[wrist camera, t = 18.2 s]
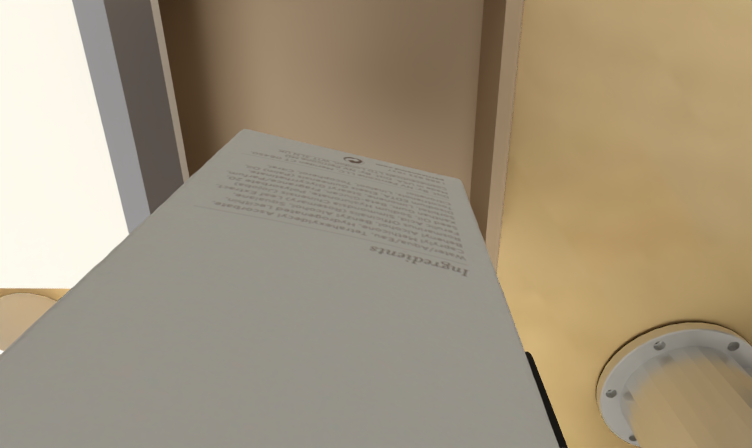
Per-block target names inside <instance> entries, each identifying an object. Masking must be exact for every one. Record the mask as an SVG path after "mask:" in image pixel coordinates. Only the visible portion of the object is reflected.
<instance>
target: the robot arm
mask: <svg viewBox="0 0 752 448" xmlns="http://www.w3.org/2000/svg"><path fill="white" fill-rule="evenodd" d="M525 354H526V357H527V360H528V362H529V365H530V368H531V371H532V374H533V377H534V379H535V382H536V384H537V387H538V390H539V393H540V396H541V398H542V401H543V404H544V407H545V410H546V413H547V416H548V418H549V421H550V424H551V427H552V429H553V432H554V434H555V437H556V440H557V442H558V445H559V448H568V447H567V445H566V442H565V439H564V437H563V434H562V432H561V429H560V427H559V424H558V421H557V419H556V416H555V414H554V411H553V408H552V406H551V403H550V401H549V398H548V396H547V393H546V390H545V388H544V385H543V383H542V380H541V378H540V375H539V372H538V370H537V367H536V365H535V362H534V359H533V357H532V355H531V354H530V353H529V352H525ZM596 400H597V405H598V409H599V411H600V413H601V415H602V418H603V420H604V422H605V423H606V425H607V426H608V427H609V429H610V430H611V431H612V432H613V433H614V434H615V435H617V436H618V437H619V438H620V439H622V440H624V441H626V442H627V443H629V444H632V445H635V446H638V447H641V448H752V346H751V345H750V344H749V343H748V342H747V341H746V340H745V339H744V338H743V337H741V336H740V335H738V334H736V333H735V332H733V331H732V330H730V329H727V328H724V327H721V326H719V325H714V324H708V323H681V324H674V325H669V326H665V327H662V328H658V329H655V330H653V331H650V332H648V333H646V334H644V335H641V336H639V337H638V338H636V339H635V340H633V341H631V342H630V343H628V344H627V345H625V346H624V347H623V348H622V349H621V350H620V351H619V352H617V353H616V354H615V355H614V356H613V358H612V359H611V360H610V361H609V363H608V364H607V365H606V366H605V368H604V370H603V372H602V374H601V376H600V378H599V382H598V385H597V392H596Z"/></svg>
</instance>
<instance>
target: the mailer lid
mask: <svg viewBox="0 0 752 448" xmlns="http://www.w3.org/2000/svg"><path fill="white" fill-rule="evenodd" d="M187 179H189V172H188V167H187V161H186V156H185V150H184V144H183V139H182V133H181V128H180V122H179V116H178V111H177V105H176V99H175V94H174V88H173V83H172V77H171V71H170V66H169V60H168V55H167V49H166V43H165V38H164V32H163V26H162V21H161V15H160V10H159V4H158V0H0V288H72V287H74V286H75V285H76V284H77V283H78V282H79V281H80V280H81V279H82V278H83V277H84V276H85V275H86V274H87V273H88V272H89V271H90V270H91V269H92V268H93V267H94V266H96V265H97V264H98V263H99V262H101V261H102V260H103V259H104V258H105V257H106V256H107V255H108V254H109V253H110V252H111V251H112V250H113V249H114V248H115V247H116V246H117V245H119V244H120V243H121V242H122V241H123V240H124V239H125V238H126V237H127V236H128V235H129V234H130V233H131V232H132V231H133V230H134V229H135V228H137V227H138V226H139V225H140V224H141V223H142V222H143V221H144V220H145V219H146V218H147V217H148V216H150V215H151V214H152V213H153V212H154V211H155V210H156V209H157V208H158V207H159V206H160V205H162V204H163V203H164V202H165V201H166V200H167V199H168V198H169V197H170V196H171V195H172V194H173V193H174V192H175V191H176V190H177V189H178V188H179V187H181V186H182V185H183V184H184V183H185V181H186V180H187Z"/></svg>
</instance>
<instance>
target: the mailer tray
mask: <svg viewBox="0 0 752 448" xmlns="http://www.w3.org/2000/svg"><path fill="white" fill-rule="evenodd" d="M158 4H159V10H160V15H161V21H162V26H163V32H164V38H165V43H166V49H167V55H168V60H169V66H170V71H171V77H172V83H173V88H174V94H175V99H176V105H177V111H178V116H179V122H180V128H181V133H182V139H183V144H184V150H185V156H186V161H187V167H188V172H189V178H190V177H191V176H192V175H193V174H194V173H195V172H197V171H198V170H199V169H200V168H201V167H202V166H203V165H204V164H205V163H206V162H207V161H208V160H209V159H211V158H212V157H213V156H214V155H215V154H216V153H217V152H218V151H219V150H220V149H221V148H222V147H223V146H224V145H226V144H227V143H228V142H229V141H230V140H231V139H232V138H233V137H234V136H235V135H236V134H237V133H238V132H240V131H241V130H243V129H249V130H253V131H257V132H261V133H265V134H270V135H274V136H278V137H283V138H287V139H291V140H295V141H299V142H304V143H308V144H312V145H316V146H321V147H325V148H330V149H334V150H338V151H342V152H346V153H351V154H355V155H359V156H363V157H367V158H372V159H376V160H380V161H384V162H389V163H393V164H397V165H401V166H405V167H410V168H414V169H418V170H422V171H426V172H430V173H435V174H439V175H443V176H448V177H453V178H457V179H460V180H461V181H462V184H463V186H464V189H465V192H466V194H467V197H468V199H469V202H470V205H471V208H472V210H473V213H474V216H475V218H476V220H477V223H478V226H479V229H480V232H481V234H482V237H483V239H484V242H485V245H486V248H487V250H488V253H489V256H490V259H491V261H492V264H493V267H494V269H495V272H496V275H497V265H498V255H499V245H500V235H501V225H502V215H503V205H504V195H505V185H506V175H507V165H508V155H509V145H510V135H511V125H512V115H513V105H514V95H515V85H516V75H517V65H518V55H519V45H520V35H521V25H522V15H523V5H524V0H158Z"/></svg>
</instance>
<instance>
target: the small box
mask: <svg viewBox="0 0 752 448" xmlns="http://www.w3.org/2000/svg"><path fill="white" fill-rule="evenodd" d="M0 448H559V445H558V442H557V440H556V437H555V434H554V432H553V429H552V427H551V424H550V421H549V418H548V416H547V413H546V410H545V407H544V404H543V401H542V398H541V396H540V393H539V390H538V387H537V384H536V382H535V379H534V377H533V374H532V371H531V368H530V365H529V362H528V360H527V357H526V354H525V351H524V349H523V346H522V343H521V340H520V337H519V335H518V332H517V329H516V327H515V324H514V321H513V318H512V315H511V313H510V310H509V307H508V304H507V302H506V299H505V296H504V293H503V291H502V288H501V286H500V283H499V281H498V278H497V275H496V272H495V269H494V267H493V264H492V261H491V259H490V256H489V253H488V250H487V248H486V245H485V242H484V239H483V237H482V234H481V232H480V229H479V226H478V223H477V220H476V218H475V216H474V213H473V210H472V208H471V205H470V202H469V199H468V197H467V194H466V192H465V189H464V186H463V184H462V181H461V180H460V179H457V178H453V177H448V176H443V175H439V174H435V173H430V172H426V171H422V170H418V169H414V168H410V167H405V166H401V165H397V164H393V163H389V162H384V161H380V160H376V159H372V158H367V157H363V156H359V155H355V154H351V153H346V152H342V151H338V150H334V149H330V148H325V147H321V146H316V145H312V144H308V143H304V142H299V141H295V140H291V139H287V138H283V137H278V136H274V135H270V134H265V133H261V132H257V131H253V130H249V129H243V130H241V131H240V132H238V133H237V134H236V135H235V136H234V137H233V138H232V139H231V140H230V141H229V142H228V143H227V144H226V145H224V146H223V147H222V148H221V149H220V150H219V151H218V152H217V153H216V154H215V155H214V156H213V157H212V158H211V159H209V160H208V161H207V162H206V163H205V164H204V165H203V166H202V167H201V168H200V169H199V170H198V171H197V172H195V173H194V174H193V175H192V176H191V177H190V178H189V179H187V180H186V181H185V183H184V184H183V185H182V186H181V187H179V188H178V189H177V190H176V191H175V192H174V193H173V194H172V195H171V196H170V197H169V198H168V199H167V200H166V201H165V202H164V203H163V204H162V205H160V206H159V207H158V208H157V209H156V210H155V211H154V212H153V213H152V214H151V215H150V216H148V217H147V218H146V219H145V220H144V221H143V222H142V223H141V224H140V225H139V226H138V227H137V228H135V229H134V230H133V231H132V232H131V233H130V234H129V235H128V236H127V237H126V238H125V239H124V240H123V241H122V242H121V243H120V244H119V245H117V246H116V247H115V248H114V249H113V250H112V251H111V252H110V253H109V254H108V255H107V256H106V257H105V258H104V259H103V260H102V261H101V262H99V263H98V264H97V265H96V266H94V267H93V268H92V269H91V270H90V271H89V272H88V273H87V274H86V275H85V276H84V277H83V278H82V279H81V280H80V281H79V282H78V283H77V284H76V285H75V286H74V287H72V288H71V289H70V290H69V291H68V292H67V293H66V294H65V295H64V296H63V297H62V298H61V299H59V300H58V301H57V302H56V303H55V304H54V305H53V306H52V307H51V308H50V309H48V310H47V311H46V312H45V313H44V314H43V315H42V316H41V317H40V318H39V319H38V320H36V321H35V322H34V323H33V324H32V325H31V326H30V327H29V328H28V329H27V330H26V331H25V332H24V333H23V334H22V335H21V336H19V337H18V338H17V339H16V340H15V341H14V342H13V343H12V344H11V345H10V346H9V347H8V348H7V349H6V350H5V351H4V352H3V353H1V354H0Z"/></svg>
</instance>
